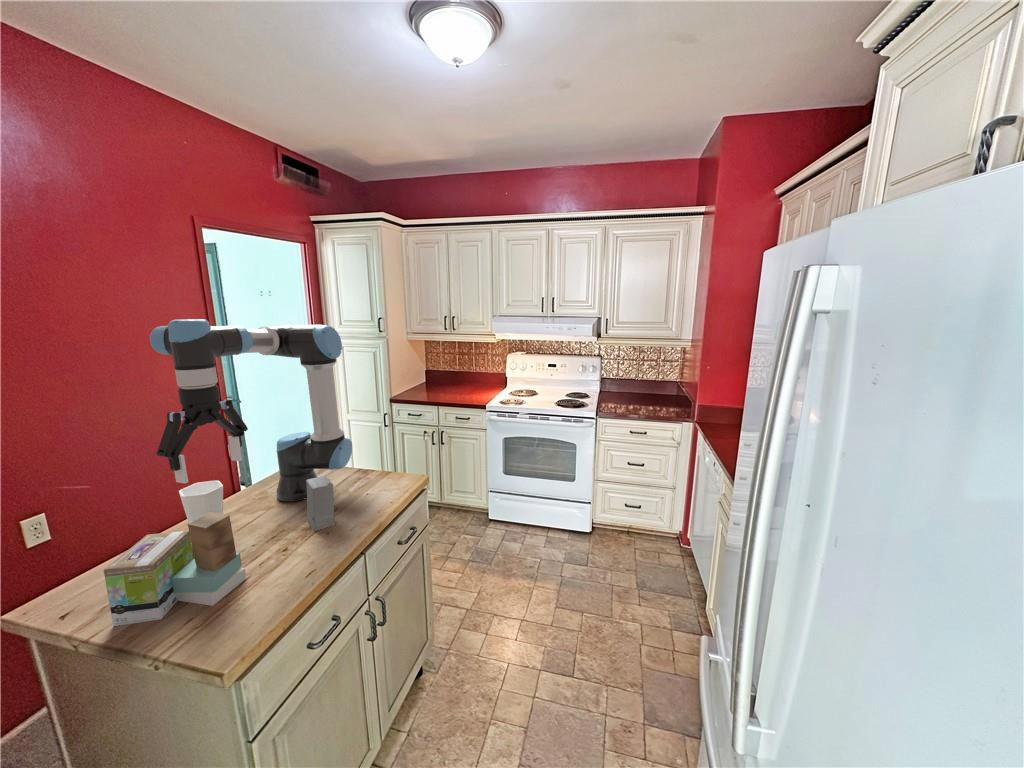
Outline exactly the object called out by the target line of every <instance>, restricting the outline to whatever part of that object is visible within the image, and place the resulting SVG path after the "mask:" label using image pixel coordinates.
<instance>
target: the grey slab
mask: <svg viewBox="0 0 1024 768" xmlns="http://www.w3.org/2000/svg"><path fill="white" fill-rule="evenodd" d="M246 579H247V574H246V568H245V567H240V568H239V569H238V570H237V571H236V572H235V573H234V574H233V575H232V576H231V577H230V578H229V579H228V580H227V581H226V582H225V583H224V584H223V585H222V586H221V587H220V588H219V589H218V590H217V591H216V592H184V593H177V597H178V601H179V602H183V603H192V604H199V605H206V606H212V607H213V606H214V605H216V604H217V603H218V602H219V601H221V600H222V598H224V597H226V596H227V595H228V594H230V592H232V591H233V590H234V589H235V588H236V587H238V586H239V585H240V584H242V582H244V581H245V580H246ZM178 601H177V602H178Z"/></svg>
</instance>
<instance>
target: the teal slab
mask: <svg viewBox="0 0 1024 768" xmlns="http://www.w3.org/2000/svg"><path fill="white" fill-rule="evenodd" d="M236 555H237V557H236V558H234V559H233V560H231V561H230V562H228V563H226V564H225V565H223V566H222V567H220V568H219V569H217V570H216V571H210V570H206V569H202V568H198V567H196V563H195V558H193V559H194V560H192V561H191V562H190V563H189V564H188V565H186V566H185V567H184V568H183V569H182V570H180V571H179V572H178V573H177V574H176V575H174V576H173V577H172V578H171V580H172V585H173V591H174V593H184V592H216V591H217V590H218V589H219V588H220V587H221V586H222V585H223V584H224V583H225V582H226V581H227V580H228V579H229V578H230V577H231V576H232V575H233V574H234V573H235V572H236V571H237V570H238V569H239V568H242V566H243V565H242V564H243V563H242V558H241V552H240V551H236Z"/></svg>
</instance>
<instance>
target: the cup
mask: <svg viewBox="0 0 1024 768" xmlns="http://www.w3.org/2000/svg"><path fill="white" fill-rule="evenodd" d="M178 494H179V496H180V500H181V503H182V507H183V510H184V513H185V516H186V519H187V522H188V524H189V523H191V522H193V521H195V520H197V519H199V518H201V517H203V516H205V515H207V514H209V513H211V512H216V513H221V514H224V485H223V484H222V482H221V481H220V480H208V481H201V482H199V481H198V482H195V483H192V484H191V485H188V486H186V487H183V488H181V489H180V490H178Z"/></svg>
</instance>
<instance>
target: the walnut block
mask: <svg viewBox="0 0 1024 768" xmlns="http://www.w3.org/2000/svg"><path fill="white" fill-rule="evenodd" d="M230 516H231V515H229V514H224V513H223V514H221V513H216V512H211V513H209V514H207V515H205V516H203V517H201V518H199V519H197V520H195V521H193V522H191V523H189V522H188V524H187V527H188V531H189V533H190V538H191V545H192V551H193V559H195V563H196V567H198V568H202V569H206V570H210V571H216V570H217V569H219V568H220V567H222V566H223V565H225V564H226V563H228V562H230V561H231V560H233V559H234V558H236V557H237V555H236V552H237V551H236V544H235V540H234V534H233V528H232V522H231V517H230Z"/></svg>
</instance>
